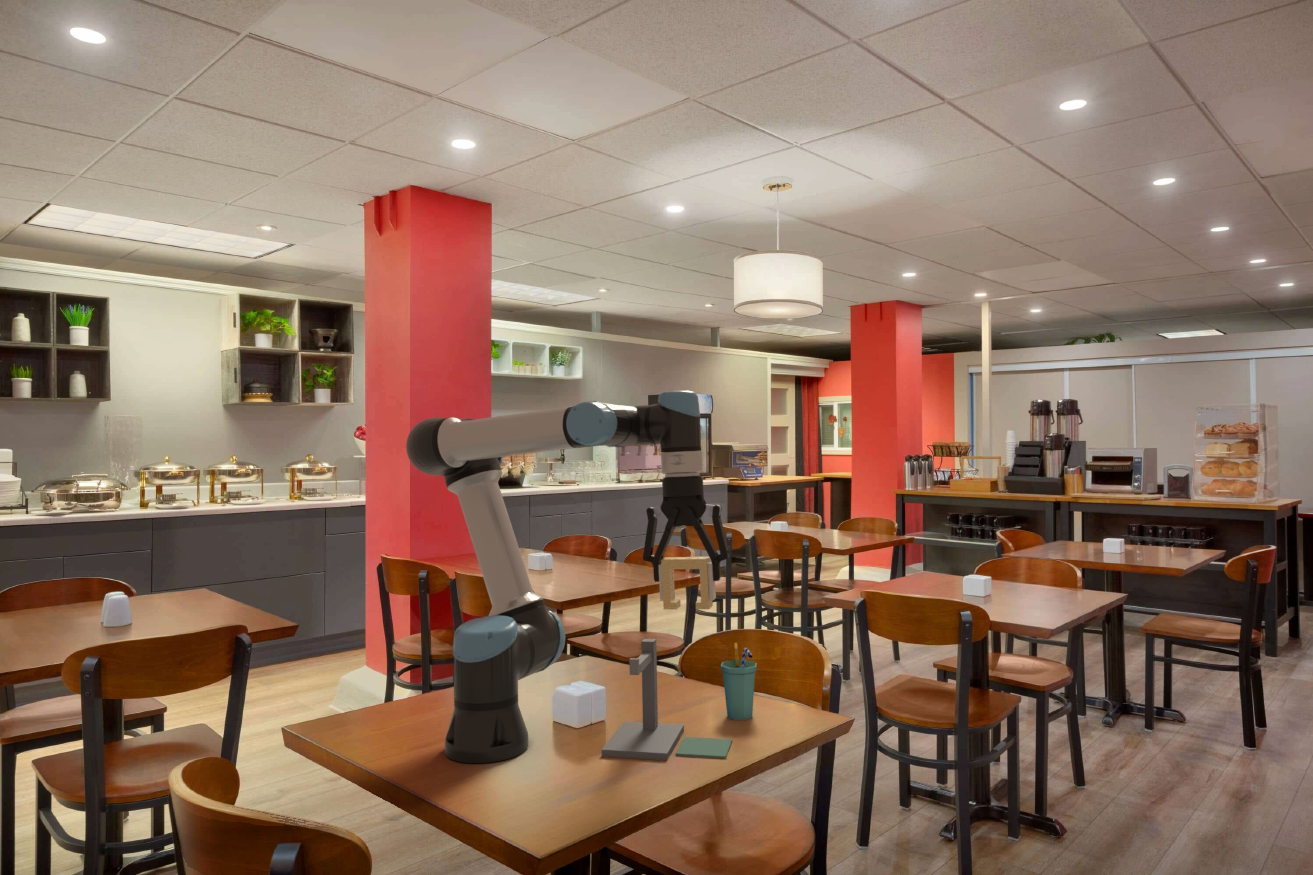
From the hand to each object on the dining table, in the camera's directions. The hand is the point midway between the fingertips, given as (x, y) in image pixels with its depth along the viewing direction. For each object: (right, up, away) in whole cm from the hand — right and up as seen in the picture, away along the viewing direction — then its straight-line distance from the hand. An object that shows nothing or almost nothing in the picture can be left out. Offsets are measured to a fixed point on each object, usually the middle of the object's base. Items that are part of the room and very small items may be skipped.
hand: (688, 599), depth 151 cm
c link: (0, -2, 0) cm, 2 cm away
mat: (+3, -27, 0) cm, 27 cm away
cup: (+11, -28, +17) cm, 35 cm away
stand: (-8, -28, +3) cm, 29 cm away
